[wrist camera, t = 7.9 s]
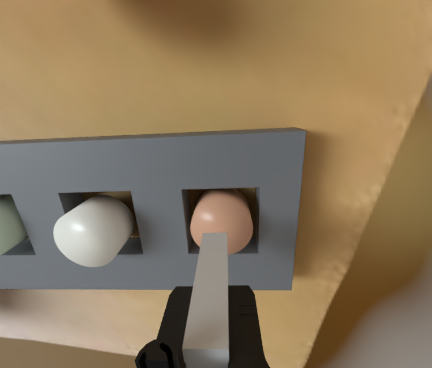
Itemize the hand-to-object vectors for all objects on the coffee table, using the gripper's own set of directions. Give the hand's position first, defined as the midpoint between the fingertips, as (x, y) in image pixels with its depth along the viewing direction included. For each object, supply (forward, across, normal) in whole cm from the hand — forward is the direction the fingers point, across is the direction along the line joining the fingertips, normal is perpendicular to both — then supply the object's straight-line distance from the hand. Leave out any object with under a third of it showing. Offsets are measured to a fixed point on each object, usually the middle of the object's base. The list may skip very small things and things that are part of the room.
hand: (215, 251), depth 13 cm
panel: (+7, -10, 0) cm, 12 cm away
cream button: (+5, -10, 0) cm, 11 cm away
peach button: (+6, 0, 0) cm, 6 cm away
